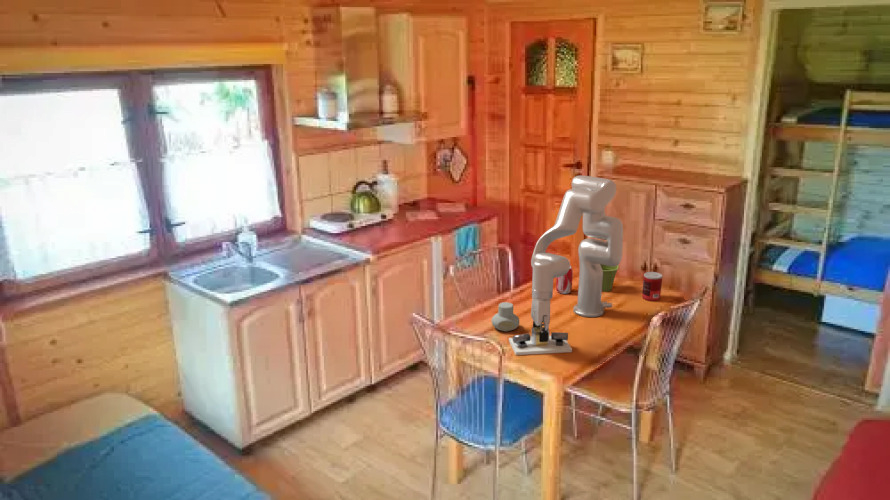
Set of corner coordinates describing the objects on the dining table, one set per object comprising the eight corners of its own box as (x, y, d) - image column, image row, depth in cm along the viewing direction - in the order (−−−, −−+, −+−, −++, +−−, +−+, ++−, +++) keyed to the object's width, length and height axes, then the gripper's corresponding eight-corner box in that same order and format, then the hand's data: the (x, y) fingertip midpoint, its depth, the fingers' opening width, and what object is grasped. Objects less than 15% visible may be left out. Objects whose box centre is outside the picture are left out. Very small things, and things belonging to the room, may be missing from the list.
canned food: (662, 297, 297) (664, 273, 294) (657, 303, 291) (659, 279, 287) (644, 293, 301) (647, 270, 298) (639, 299, 295) (641, 275, 291)
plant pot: (585, 289, 307) (586, 265, 303) (600, 282, 314) (602, 259, 311) (607, 296, 298) (608, 272, 295) (622, 289, 306) (624, 266, 302)
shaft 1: (526, 341, 252) (526, 331, 251) (531, 346, 248) (531, 336, 247) (511, 343, 250) (511, 333, 249) (516, 348, 246) (516, 338, 245)
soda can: (572, 294, 300) (574, 269, 296) (556, 294, 300) (558, 269, 296) (570, 289, 306) (571, 264, 303) (554, 289, 307) (556, 264, 303)
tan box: (534, 346, 248) (534, 332, 246) (531, 341, 252) (531, 327, 251) (548, 345, 249) (549, 331, 247) (545, 340, 253) (546, 326, 251)
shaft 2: (566, 340, 253) (567, 330, 251) (567, 346, 248) (568, 335, 247) (550, 340, 253) (551, 330, 252) (551, 345, 249) (551, 335, 248)
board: (562, 337, 258) (562, 335, 257) (571, 352, 246) (571, 349, 246) (508, 340, 255) (508, 337, 255) (515, 355, 244) (515, 352, 244)
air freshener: (517, 323, 270) (518, 300, 267) (520, 332, 263) (521, 308, 259) (490, 324, 270) (491, 301, 267) (492, 332, 262) (493, 309, 259)
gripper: (526, 284, 252) (525, 326, 257) (538, 302, 236) (536, 346, 241) (546, 284, 253) (544, 325, 258) (558, 301, 236) (556, 345, 242)
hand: (540, 335), depth 250 cm, fingers open, 9 cm apart
